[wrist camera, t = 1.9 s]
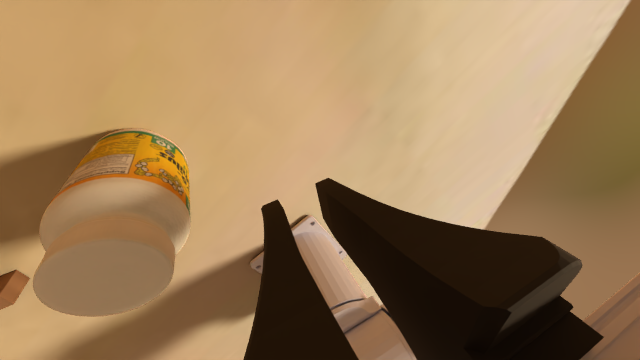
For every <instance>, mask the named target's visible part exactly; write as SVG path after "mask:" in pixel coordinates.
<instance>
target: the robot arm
mask: <svg viewBox="0 0 640 360" xmlns="http://www.w3.org/2000/svg"><path fill="white" fill-rule="evenodd" d="M315 184H316V189H317V193H318V198H319V202H320V206H321V211H322V215H323V219H324V220H325V222H326V224H327V226H328V227H329V229H330V231H331V232H332V234H333V236H334V237H335V238H336V240H337V241H338V242H339V244H340V245H341V246H342V247H341V246H340V245H339V244H338V243H337V242H336V241H335V239H334V238H333V237H332V236H331V235H330V234H329V233H328V232H327V231H326V230H325V229H324V228H323V227H322V225H321V224H320V223H319V222H318V221H317V220H316V219H315V218H314V217H313V216H312V215H309V216H307V217H305V218H304V219H303V220H302V221H300V222H299V223H298V224H297V225H295V226H294V227H293V228H292V229H291V228H290V225H289V222H288V219H287V217H286V214H285V211H284V209H283V207H282V206H281V204H280V202H279V201H278V200H275V201H273V202H271V203H268V204H266V205H264V206H263V207H262V208H261V210H262V214H263V221H264V251H263V252H262V253H261V254H259V255H258V256H257V257H256V258H254V259H253V260H252V261H251V262H250V267H251V268H252V269H254V270H256V271H257V272H259V273H261V274H262V277H261V285H260V291H259V297H258V302H257V307H256V312H255V317H254V322H253V326H252V330H251V334H250V338H249V342H248V346H247V349H246V353H245V356H244V360H640V272H639V273H638V274H637V275H636V276H635V277H633V279H631V280H630V281H629V282H627V283H626V284H625V285H624V286H623V287H622V288H621V289H619V290H618V291H617V292H616V293H615V294H614V295H613V296H611V297H610V298H609V299H608V300H607V301H605V302H604V303H603V304H602V305H601V306H599V307H598V308H597V309H596V310H595V311H593V312H592V313H591V314H590V315H589V316H587V317H586V318H585V319H584V320H583V321H582V320H581V319H579V318H578V317H576V316H575V315H574V314H573V313H571V312H570V310H571V309H572V308H573V306H572V304H570V303H569V302H568V301H566V300H565V299H563V298H562V297H561V296H560V295H561V293H562V292H563V291H564V290H565V289H566V287H567V286H568V285H569V284H570V283H571V281H572V280H573V279H574V278H575V277H576V275H577V274H578V273H579V271H580V270H581V268H582V263H581V260H580V259H578V258H576V257H575V256H573V255H571V254H570V253H568V252H566V251H565V250H563V249H561V248H560V247H558V246H556V245H555V244H553V243H551V242H550V241H548V240H546V239H545V238H543V237H537V236H528V235H519V234H511V233H502V232H494V231H487V230H482V229H476V228H470V227H465V226H460V225H455V224H450V223H446V222H442V221H437V220H433V219H429V218H425V217H422V216H419V215H415V214H412V213H409V212H405V211H402V210H399V209H397V208H394V207H391V206H389V205H386V204H383V203H381V202H378V201H376V200H374V199H371V198H369V197H367V196H365V195H362V194H360V193H358V192H356V191H354V190H352V189H350V188H348V187H346V186H344V185H342V184H340V183H338V182H336V181H334V180H332V179H330V178H327V179H325V180H322V181H320V182H318V183H315ZM311 222H312V223H311ZM347 254H348V255H349V257H350V258H351V259H352V260H353V262H354V263H355V264H356V266H357V267H358V268H359V269H360V271H361V272H362V273H363V275H364V276H365V277H366V278H367V280H368V281H369V283H370V284H371V285H372V287H373V288H374V290H375V292H376V293H377V295H378V296H379V298H380V299H381V301H382V303H383V304H382V305H381V306H379V304H378V303H377V301H376V300H375V298H374V297H373V296H371V297H369V298H367V296H366V295H365V293H364V292H363V290H362V289H361V287H360V286H359V284H358V283H357V281H356V280H355V278H354V277H353V275H352V274H351V272H350V271H349V269H348V268H347V266H346V265H345V263H344V262H343V259H344V258H345V257H346V256H347ZM258 265H259V266H258Z"/></svg>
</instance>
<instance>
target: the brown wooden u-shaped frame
mask: <svg viewBox="0 0 640 360" xmlns="http://www.w3.org/2000/svg"><path fill="white" fill-rule="evenodd" d="M29 279H30V278H28V277H27V276H25V275H24V274H22V273H21V272H19V271H17V270H15V271H13V272H10V273H8V274H5V275H3V276H0V310H1V309H3V308H5V307H8V306H10V305H13V304H14V303H15V301H16V300H17V298H18V297H19V295H20V293H21V292H22V290H23V289H24V287H25V285H26V284H27V282H28V280H29Z"/></svg>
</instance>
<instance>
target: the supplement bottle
mask: <svg viewBox="0 0 640 360" xmlns="http://www.w3.org/2000/svg"><path fill="white" fill-rule="evenodd" d="M189 232H190V197H189V166H188V162H187V159H186V157H185V154H184V153H183V151H182V150H181V149H180V148H179V147H178V146H177V145H176V144H175V143H174V142H173V141H171V140H169V139H168V138H166V137H164V136H162V135H160V134H158V133H156V132H153V131H149V130H145V129H123V130H118V131H115V132H112V133H109V134H107V135H105V136H104V137H102V138H101V139H99V140H98V141H97V142H96V143H95V144H94V145H93V146H92V147H91V148H90V150H89V151H88V152H87V154H86V155H85V157H84V158H83V159H82V160H81V162H80V163H79V165H78V166H77V167H76V169H75V170H74V171H73V173H72V174H71V176H70V177H69V178H68V179H67V181H66V182H65V183H64V185H63V186H62V188H61V189H60V190H59V192H58V193H57V194H56V196H55V197H54V199H53V200H52V201H51V203H50V204H49V206H48V207H47V209H46V210H45V212H44V214H43V216H42V219H41V223H40V229H39V233H40V240H41V243H42V245H43V247H44V249H45V251H46V253H45V255H44V258H43V259H42V261H41V263H40V265H39V266H38V268H37V270H36V272H35V275H34V278H33V288H34V291H35V294H36V296H37V297H38V298H39V300H40V301H41V302H42V303H44V304H45V305H47V306H48V307H50V308H51V309H53V310H56V311H59V312H62V313H65V314H70V315H76V316H107V315H113V314H118V313H123V312H127V311H130V310H133V309H136V308H138V307H141V306H143V305H145V304H147V303H148V302H150V301H152V300H153V299H155V298H156V297H158V296H159V295H160V294H161V293H162V292H163V291H164V290H165V289H166V288H167V286H168V285H169V284H170V281H171V279H172V276H173V271H174V261H175V255H176V254H177V253H178V252H179V251H180V250H181V249H182V247H183V246H184V244H185V242H186V241H187V238H188V235H189Z"/></svg>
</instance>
